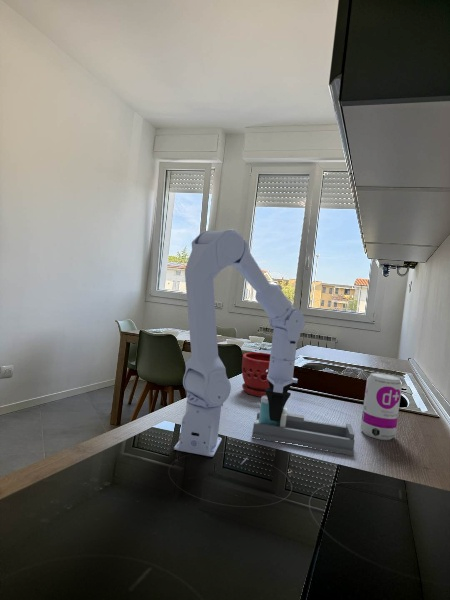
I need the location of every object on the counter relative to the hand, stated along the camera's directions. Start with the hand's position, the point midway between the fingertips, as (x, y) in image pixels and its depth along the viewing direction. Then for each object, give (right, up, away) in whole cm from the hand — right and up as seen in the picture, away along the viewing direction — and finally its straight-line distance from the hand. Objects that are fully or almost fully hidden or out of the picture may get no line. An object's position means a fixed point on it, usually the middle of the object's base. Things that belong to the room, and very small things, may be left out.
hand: (275, 415), depth 98 cm
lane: (+5, -5, -1) cm, 7 cm away
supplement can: (+26, -7, +8) cm, 29 cm away
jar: (-2, -3, 0) cm, 3 cm away
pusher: (+3, -3, 0) cm, 5 cm away
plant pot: (-1, -3, +35) cm, 35 cm away
